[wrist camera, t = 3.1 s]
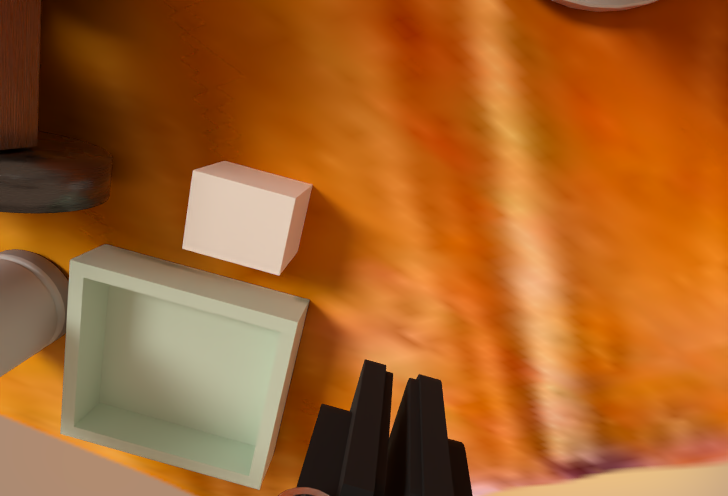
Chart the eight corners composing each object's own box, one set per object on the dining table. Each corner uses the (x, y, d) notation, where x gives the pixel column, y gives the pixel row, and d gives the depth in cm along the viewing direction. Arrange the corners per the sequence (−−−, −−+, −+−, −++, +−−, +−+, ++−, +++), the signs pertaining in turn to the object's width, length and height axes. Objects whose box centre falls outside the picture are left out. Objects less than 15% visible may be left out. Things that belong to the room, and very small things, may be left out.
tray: (309, 299, 27) (297, 322, 24) (273, 454, 31) (259, 489, 28) (105, 243, 28) (69, 259, 25) (92, 403, 31) (60, 433, 28)
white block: (313, 184, 25) (295, 198, 22) (298, 251, 27) (279, 275, 23) (225, 160, 26) (193, 170, 22) (214, 228, 27) (182, 248, 23)
